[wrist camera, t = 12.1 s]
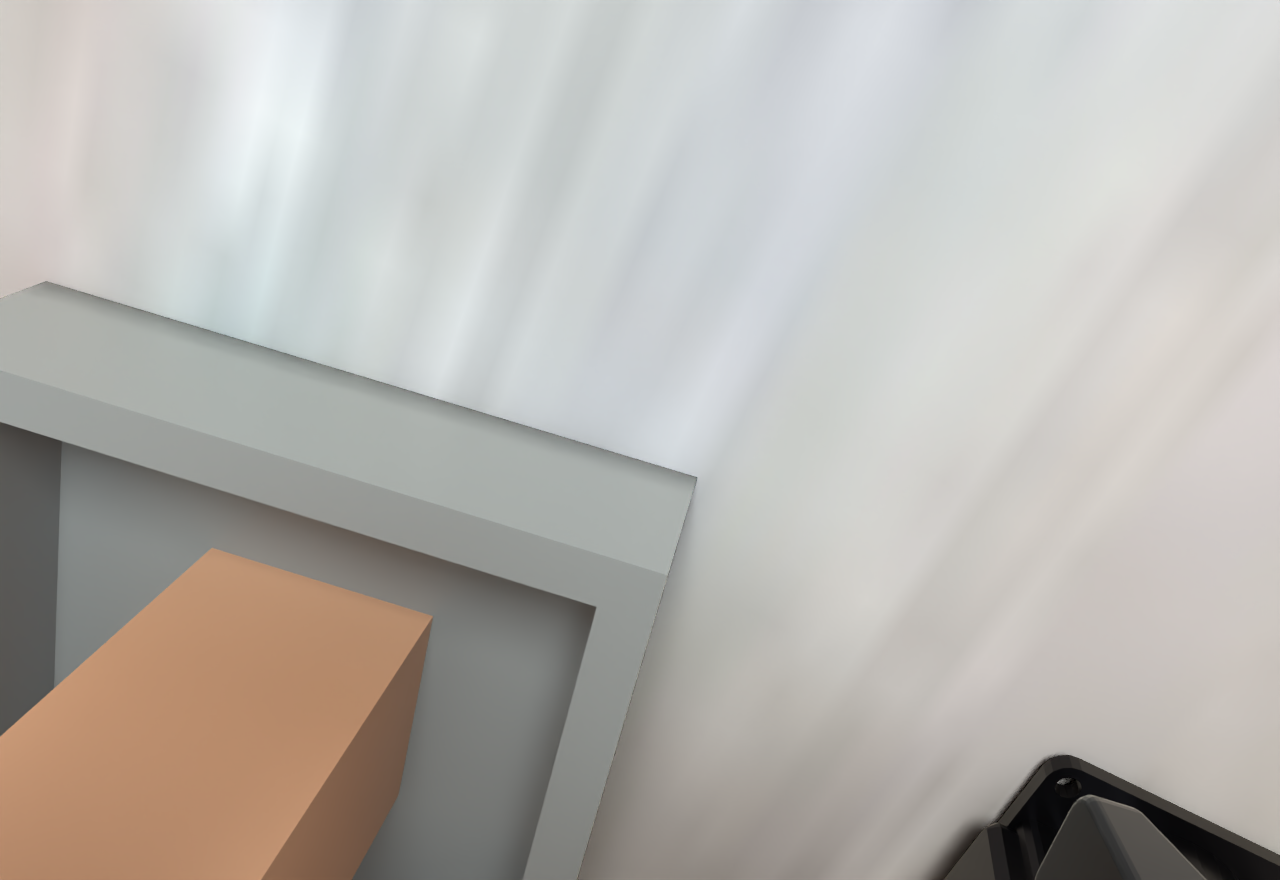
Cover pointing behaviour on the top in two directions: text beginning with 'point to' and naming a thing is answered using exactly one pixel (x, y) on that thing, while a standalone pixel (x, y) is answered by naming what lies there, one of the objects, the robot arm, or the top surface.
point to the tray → (340, 554)
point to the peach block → (219, 736)
